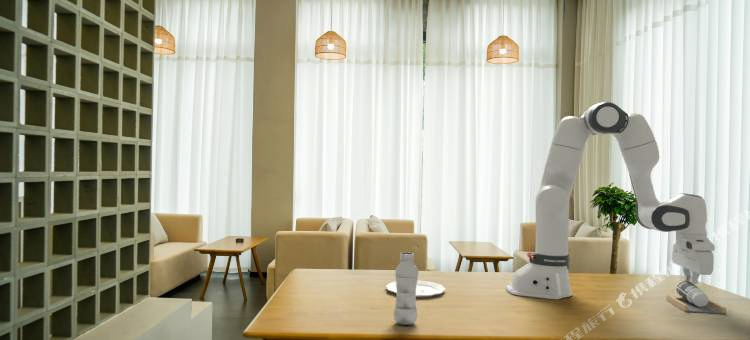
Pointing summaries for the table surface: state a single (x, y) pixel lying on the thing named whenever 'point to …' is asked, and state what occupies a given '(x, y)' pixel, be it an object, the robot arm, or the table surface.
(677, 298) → the wooden tray
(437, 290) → the plate
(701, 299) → the pill bottle
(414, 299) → the plastic bottle
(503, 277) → the table surface
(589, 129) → the robot arm
